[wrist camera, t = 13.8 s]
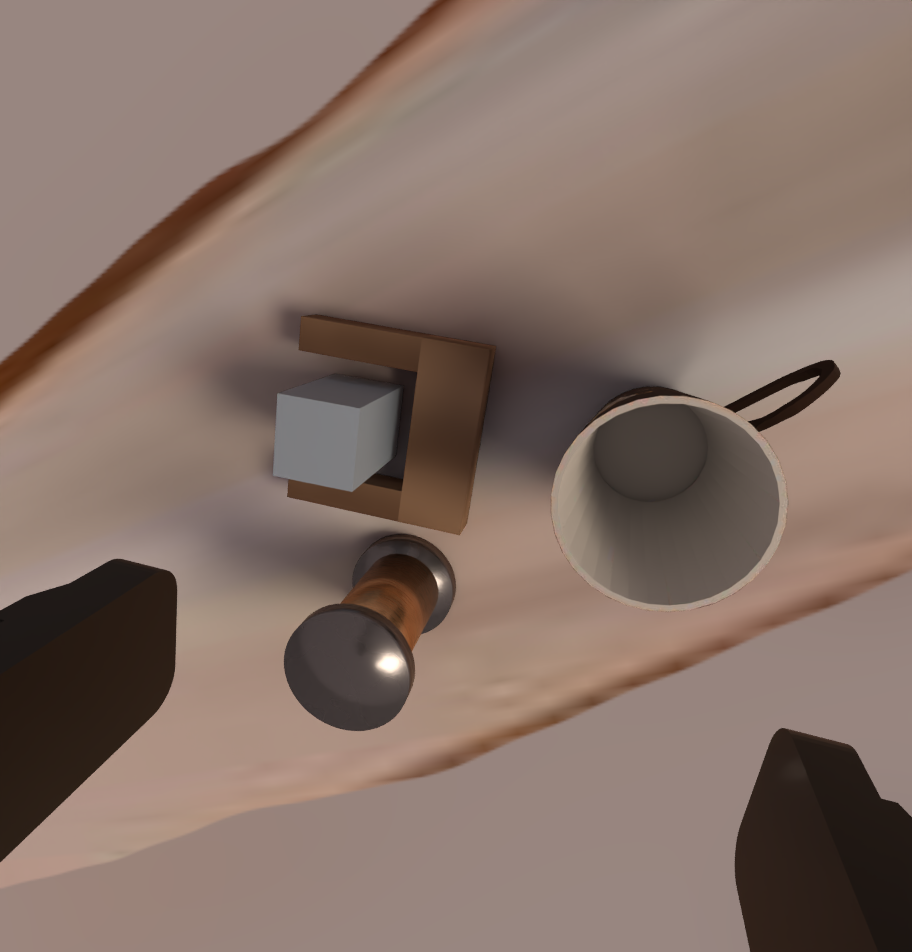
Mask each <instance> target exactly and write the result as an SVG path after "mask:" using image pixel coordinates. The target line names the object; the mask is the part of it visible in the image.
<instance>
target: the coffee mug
mask: <svg viewBox="0 0 912 952" xmlns="http://www.w3.org/2000/svg"><path fill="white" fill-rule="evenodd" d="M840 374H841V373H840V370H839V368H838V367H837V365H836V364H835V363H834V361H832V360H825V361H820V362H818V363H815V364H812V365H809V366H807V367H804V368H802V369H799V370H797V371H795V372H793V373H790V374H788V375H786V376H784V377H782V378H780V379H777V380H775V381H774V382H772V383H770V384H768V385H766V386H764V387H762V388H760V389H758V390H756V391H754V392H752V393H750V394H748V395H746V396H744V397H742V398H740V399H739V400H737V401H735V402H733V403H731V404H729V405H727V406H725V407H722V406H720V405H717V404H715V403H712V402H710V401H707V400H704V399H701V398H698V397H695V396H692V395H688V394H685V393H682V392H679V391H676V390H673V389H668V388H663V387H641V388H636V389H632V390H629V391H627V392H624V393H622V394H620V395H618V396H617V397H615V398H614V399H612V400H611V401H610V402H609V403H607V404H606V405H605V406H604V407H603V408H602V409H601V410H600V411H599V412H598V414H597V415H596V416H595V417H594V418H593V419H592V420H591V421H590V422H589V424H588V425H587V426H586V427H585V428H584V429H583V430H582V431H581V433H580V434H579V435H578V436H577V437H576V439H575V440H574V441H573V443H572V444H571V446H570V447H569V448H568V450H567V451H566V452H565V454H564V456H563V458H562V460H561V463H560V465H559V467H558V469H557V471H556V474H555V479H554V483H553V487H552V492H551V517H552V522H553V527H554V533H555V536H556V538H557V540H558V543H559V545H560V548H561V550H562V552H563V554H564V555H565V557H566V558H567V560H568V561H569V563H570V564H571V566H572V567H573V569H574V570H575V571H576V572H577V573H578V574H579V575H580V576H581V577H582V578H583V579H584V580H585V581H586V582H587V583H588V584H589V585H591V586H592V587H593V588H595V589H596V590H598V591H599V592H601V593H602V594H604V595H605V596H607V597H609V598H611V599H614V600H616V601H618V602H620V603H622V604H625V605H628V606H632V607H636V608H640V609H644V610H648V611H662V612H675V611H685V610H693V609H697V608H700V607H704V606H708V605H711V604H714V603H716V602H718V601H720V600H722V599H725V598H727V597H729V596H731V595H733V594H735V593H736V592H737V591H739V590H740V589H741V588H743V587H744V586H745V585H747V584H748V583H750V582H751V581H752V580H753V579H754V578H755V577H756V576H757V575H758V574H759V573H760V572H761V570H762V569H763V568H764V567H765V566H766V565H767V564H768V562H769V560H770V559H771V557H772V555H773V554H774V552H775V551H776V549H777V547H778V546H779V543H780V540H781V537H782V534H783V531H784V528H785V526H786V519H787V510H788V495H787V486H786V479H785V477H784V474H783V471H782V468H781V465H780V462H779V459H778V458H777V456H776V454H775V453H774V451H773V450H772V448H771V446H770V445H769V443H768V442H767V440H766V439H765V438H764V437H763V436H762V435H761V434H760V433H759V432H760V431H762V430H765V429H767V428H769V427H771V426H774V425H776V424H778V423H780V422H781V421H784V420H786V419H788V418H790V417H792V416H794V415H796V414H797V413H799V412H801V411H802V410H803V409H805V408H806V407H807V406H809V405H810V404H811V403H813V402H814V401H815V400H816V399H818V398H819V397H820V396H821V395H822V394H824V393H825V392H826V391H827V390H828V389H829V388H830V387H831V386H832V385H833V384H834V383H835V382H836V381H837V380H838V378H839V377H840ZM816 376H819V378H818V379H817V380H816V381H815V382H814V383H813V384H812V385H811V386H810V387H809V388H808V389H807V390H806V391H804V392H803V393H802V394H801V395H799V396H798V397H796V398H795V399H793V400H792V401H790V402H788V403H787V404H785V405H783V406H782V407H780V408H779V409H777V410H776V411H774V412H772V413H770V414H768V415H766V416H764V417H762V418H759V419H756V420H752V421H746V420H745V419H743V418H742V417H740V416H739V415H737V414H736V412H738V411H740V410H742V409H744V408H746V407H748V406H750V405H752V404H754V403H756V402H758V401H760V400H762V399H764V398H766V397H768V396H770V395H772V394H774V393H776V392H778V391H780V390H782V389H784V388H786V387H788V386H790V385H793V384H795V383H798V382H801V381H805V380H807V379H810V378H813V377H816Z"/></svg>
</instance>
